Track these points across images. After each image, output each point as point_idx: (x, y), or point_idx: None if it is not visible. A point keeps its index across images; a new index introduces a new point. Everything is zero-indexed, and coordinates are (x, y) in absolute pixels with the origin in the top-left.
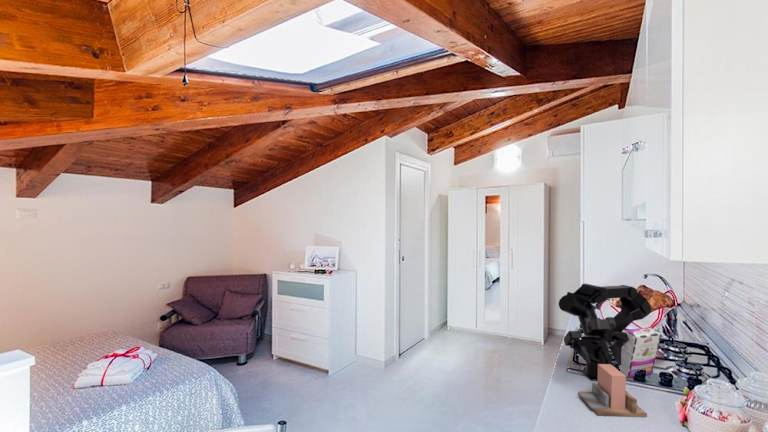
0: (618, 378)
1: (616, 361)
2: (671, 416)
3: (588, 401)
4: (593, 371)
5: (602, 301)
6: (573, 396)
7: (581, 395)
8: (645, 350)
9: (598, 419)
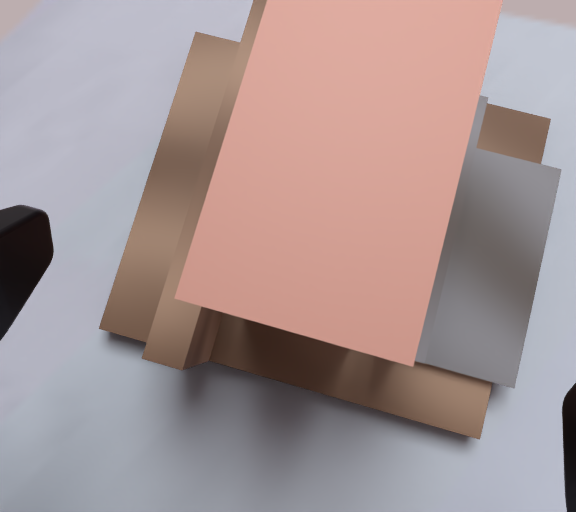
0: None
1: (2, 324)
2: (30, 21)
3: (525, 250)
4: None
5: None
6: (530, 414)
7: (517, 350)
8: None
9: (560, 92)
